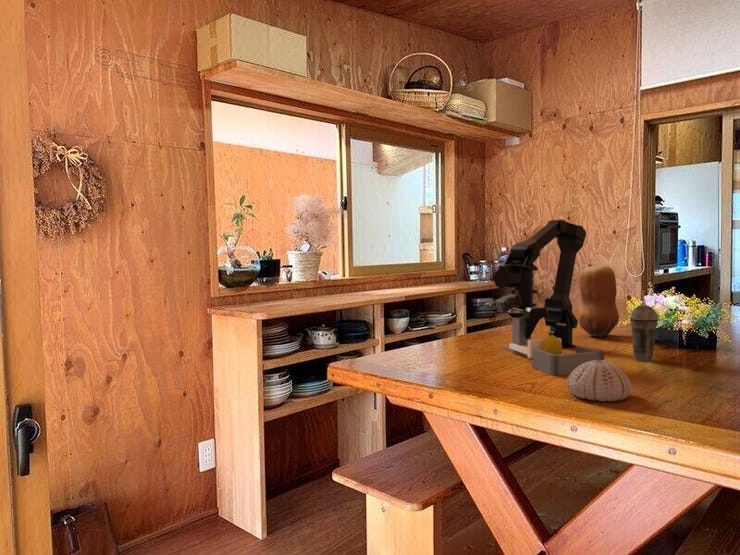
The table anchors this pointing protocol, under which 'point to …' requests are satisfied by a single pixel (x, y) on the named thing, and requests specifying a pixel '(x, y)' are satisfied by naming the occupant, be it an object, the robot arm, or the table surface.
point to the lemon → (552, 345)
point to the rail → (513, 350)
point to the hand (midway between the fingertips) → (522, 337)
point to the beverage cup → (643, 331)
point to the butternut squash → (598, 300)
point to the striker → (523, 339)
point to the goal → (564, 360)
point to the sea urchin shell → (599, 381)
